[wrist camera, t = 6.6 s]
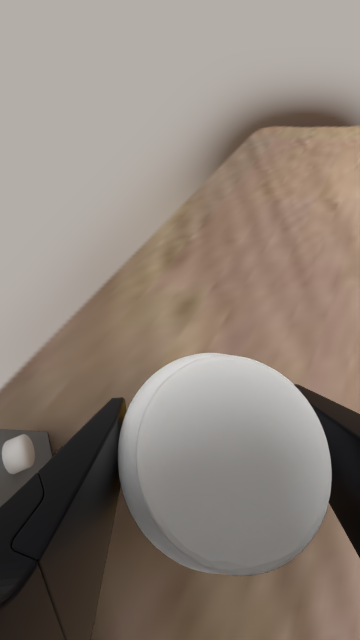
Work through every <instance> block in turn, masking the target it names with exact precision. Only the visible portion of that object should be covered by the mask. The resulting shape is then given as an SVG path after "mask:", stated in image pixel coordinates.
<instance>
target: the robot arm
mask: <svg viewBox="0 0 360 640" xmlns="http://www.w3.org/2000/svg"><path fill="white" fill-rule="evenodd" d="M294 385H295V386H296V387H297V389H298V390H299V391H300V392H301V393H302V394H303V395H304V397H305V398H306V399H307V400H308V402H309V403H310V405H311V406H312V408H313V410H314V411H315V413H316V415H317V417H318V419H319V421H320V423H321V425H322V428H323V430H324V433H325V436H326V439H327V443H328V448H329V452H330V458H331V468H332V481H331V493H330V498H329V504H330V505H331V507H332V509H333V511H334V513H335V514H336V516H337V518H338V520H339V522H340V523H341V525H342V527H343V529H344V531H345V532H346V534H347V536H348V538H349V540H350V541H351V543H352V545H353V547H354V549H355V550H356V552H357V554H358V556H359V558H360V414H359V413H356V412H354V411H352V410H350V409H348V408H346V407H344V406H342V405H340V404H338V403H336V402H333V401H331V400H329V399H327V398H325V397H323V396H321V395H319V394H317V393H315V392H313V391H310V390H308V389H306V388H304V387H302V386H300V385H298V384H294ZM125 414H126V404H125V399H124V398H123V397H121V398H112V399H111V400H110V401H109V402H108V403H107V404H106V405H105V406H104V407H103V408H102V409H100V410H99V411H98V412H97V413H96V414H95V415H94V416H93V417H92V418H91V419H90V420H89V421H88V422H87V423H86V424H85V425H84V426H83V427H82V428H81V429H80V430H79V431H78V432H77V433H76V434H75V435H74V436H73V437H72V438H71V439H70V440H69V441H68V442H67V443H66V444H65V445H64V446H63V447H62V448H61V449H60V450H59V451H58V452H57V453H56V454H55V455H54V456H53V457H52V458H51V459H50V460H49V461H48V462H47V463H46V464H45V465H44V466H43V467H42V468H41V469H40V470H39V471H38V473H35V474H34V475H33V476H32V477H31V478H30V479H29V480H28V481H27V482H26V483H25V484H24V485H23V486H22V487H21V488H20V489H19V490H18V491H17V492H16V493H15V494H13V495H12V496H11V497H10V498H9V499H8V500H7V501H6V502H5V503H4V504H3V505H1V506H0V640H90V639H91V634H92V629H93V624H94V619H95V614H96V609H97V603H98V598H99V593H100V588H101V583H102V578H103V573H104V568H105V563H106V557H107V552H108V547H109V542H110V537H111V532H112V527H113V522H114V516H115V511H116V506H117V501H118V496H119V491H120V486H121V484H120V479H119V472H118V442H119V435H120V431H121V427H122V423H123V420H124V417H125Z"/></svg>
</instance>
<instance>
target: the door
mask: <svg viewBox="0 0 360 640" xmlns="http://www.w3.org/2000/svg"><path fill="white" fill-rule="evenodd" d="M51 458H52V454H51V449H50V444H49V439H48V433H47V432H40V431H24V430H8V429H0V506H1V505H3V504H4V503H5V502H6V501H7V500H8V499H9V498H10V497H11V496H12V495H13V494H15V493H16V492H17V491H18V490H19V489H20V488H21V487H22V486H23V485H24V484H25V483H26V482H27V481H28V480H29V479H30V478H31V477H32V476H33V475H34V474H35V473H38V471H39V470H40V469H41V468H42V467H43V466H44V465H45V464H46V463H47V462H48V461H49V460H50V459H51Z"/></svg>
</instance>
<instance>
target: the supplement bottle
mask: <svg viewBox="0 0 360 640" xmlns="http://www.w3.org/2000/svg"><path fill="white" fill-rule="evenodd" d="M118 472H119V479H120V484H121V488H122V492H123V495H124V498H125V501H126V504H127V506H128V508H129V511H130V513H131V515H132V516H133V518H134V520H135V522H136V523H137V525H138V527H139V528H140V530H141V531H142V532H143V533H144V535H145V536H146V537H147V538H148V539H149V540H150V541H151V543H152V544H153V545H154V546H155V547H156V548H158V549H159V550H160V551H161V552H162V553H163V554H165V555H166V556H168V557H169V558H171V559H172V560H174V561H175V562H177V563H179V564H181V565H183V566H185V567H188V568H190V569H193V570H196V571H200V572H205V573H210V574H228V575H234V576H251V575H257V574H262V573H266V572H270V571H272V570H275V569H277V568H280V567H281V566H283V565H285V564H287V563H288V562H290V561H291V560H292V559H293V558H295V557H296V556H297V555H298V554H299V553H301V552H302V551H303V550H304V548H305V547H306V546H307V545H308V544H309V542H310V541H311V540H312V539H313V537H314V536H315V534H316V532H317V531H318V529H319V527H320V525H321V523H322V521H323V518H324V516H325V514H326V510H327V506H328V502H329V498H330V493H331V481H332V468H331V458H330V452H329V448H328V443H327V439H326V436H325V433H324V430H323V428H322V425H321V423H320V421H319V419H318V417H317V415H316V413H315V411H314V410H313V408H312V406H311V405H310V403H309V402H308V400H307V399H306V398H305V397H304V395H303V394H302V393H301V392H300V391H299V390H298V389H297V387H296V386H295V385H294V384H293V383H292V382H291V381H289V380H288V379H287V378H286V377H284V376H283V375H282V374H280V373H279V372H278V371H276V370H274V369H272V368H271V367H269V366H267V365H265V364H263V363H260V362H258V361H256V360H253V359H249V358H246V357H240V356H232V355H227V354H219V353H201V354H194V355H190V356H186V357H183V358H180V359H177V360H175V361H173V362H171V363H169V364H167V365H166V366H164V367H162V368H161V369H160V370H158V371H157V372H156V373H154V374H153V375H152V376H151V377H150V378H149V379H148V380H147V381H146V382H145V383H144V384H143V386H142V387H141V388H140V389H139V391H138V392H137V393H136V395H135V396H134V398H133V400H132V401H131V403H130V405H129V408H128V410H127V412H126V414H125V417H124V420H123V423H122V427H121V431H120V435H119V442H118Z"/></svg>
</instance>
